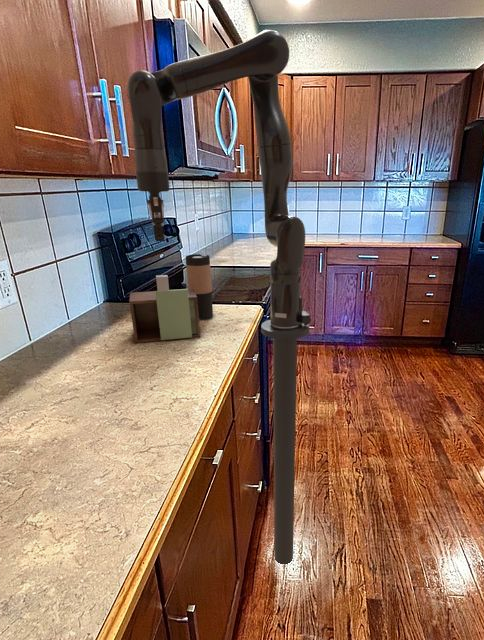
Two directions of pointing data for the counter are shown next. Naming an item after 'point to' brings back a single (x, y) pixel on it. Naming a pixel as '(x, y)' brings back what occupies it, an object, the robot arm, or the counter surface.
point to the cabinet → (156, 316)
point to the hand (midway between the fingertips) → (159, 238)
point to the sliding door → (172, 310)
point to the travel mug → (200, 283)
